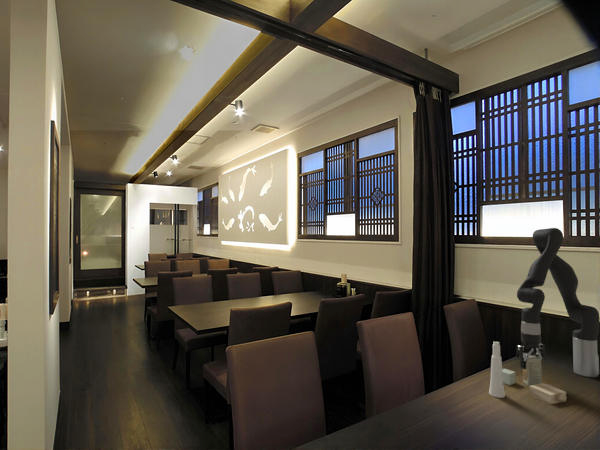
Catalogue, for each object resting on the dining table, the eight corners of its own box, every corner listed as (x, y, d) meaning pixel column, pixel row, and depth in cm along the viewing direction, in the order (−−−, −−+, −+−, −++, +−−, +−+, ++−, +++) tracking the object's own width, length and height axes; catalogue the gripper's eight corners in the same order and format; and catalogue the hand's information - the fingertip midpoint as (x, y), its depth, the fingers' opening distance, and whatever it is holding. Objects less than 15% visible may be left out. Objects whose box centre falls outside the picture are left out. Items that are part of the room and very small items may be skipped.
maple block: (544, 392, 151) (544, 383, 152) (566, 401, 143) (566, 391, 143) (529, 395, 149) (529, 385, 149) (550, 405, 140) (550, 395, 140)
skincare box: (536, 382, 161) (536, 355, 161) (542, 386, 157) (542, 358, 157) (522, 381, 162) (521, 355, 162) (527, 385, 157) (526, 358, 158)
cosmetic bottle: (488, 396, 147) (488, 343, 148) (488, 390, 153) (488, 339, 153) (505, 399, 144) (504, 345, 145) (504, 393, 150) (504, 341, 150)
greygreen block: (504, 379, 165) (504, 368, 165) (515, 383, 160) (515, 372, 161) (498, 381, 162) (498, 370, 162) (509, 385, 158) (509, 374, 158)
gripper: (535, 328, 165) (535, 363, 165) (511, 330, 162) (511, 366, 161) (550, 333, 158) (550, 369, 158) (525, 335, 154) (525, 372, 154)
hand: (530, 367), depth 159 cm, fingers open, 8 cm apart
